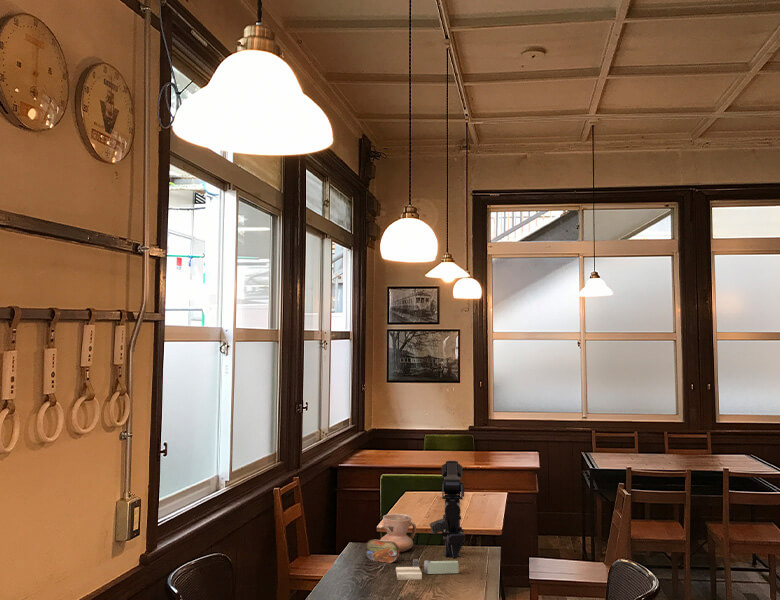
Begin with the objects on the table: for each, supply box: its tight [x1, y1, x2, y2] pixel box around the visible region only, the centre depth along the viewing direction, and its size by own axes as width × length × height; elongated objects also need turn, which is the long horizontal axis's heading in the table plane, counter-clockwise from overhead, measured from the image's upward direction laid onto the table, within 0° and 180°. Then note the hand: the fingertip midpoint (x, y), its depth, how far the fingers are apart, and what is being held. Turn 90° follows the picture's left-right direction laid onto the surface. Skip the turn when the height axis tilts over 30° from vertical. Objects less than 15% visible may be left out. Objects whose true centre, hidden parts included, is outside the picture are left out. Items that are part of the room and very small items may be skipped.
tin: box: [364, 538, 400, 564], centre depth 288 cm, size 15×3×8 cm, turn 62°
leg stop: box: [412, 558, 420, 568], centre depth 279 cm, size 2×2×3 cm
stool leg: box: [423, 559, 460, 575], centre depth 272 cm, size 13×2×4 cm, turn 95°
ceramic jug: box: [378, 513, 417, 553], centre depth 305 cm, size 18×14×14 cm
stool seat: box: [395, 566, 423, 581], centre depth 269 cm, size 9×9×2 cm
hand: (452, 555), depth 262 cm, fingers open, 9 cm apart
